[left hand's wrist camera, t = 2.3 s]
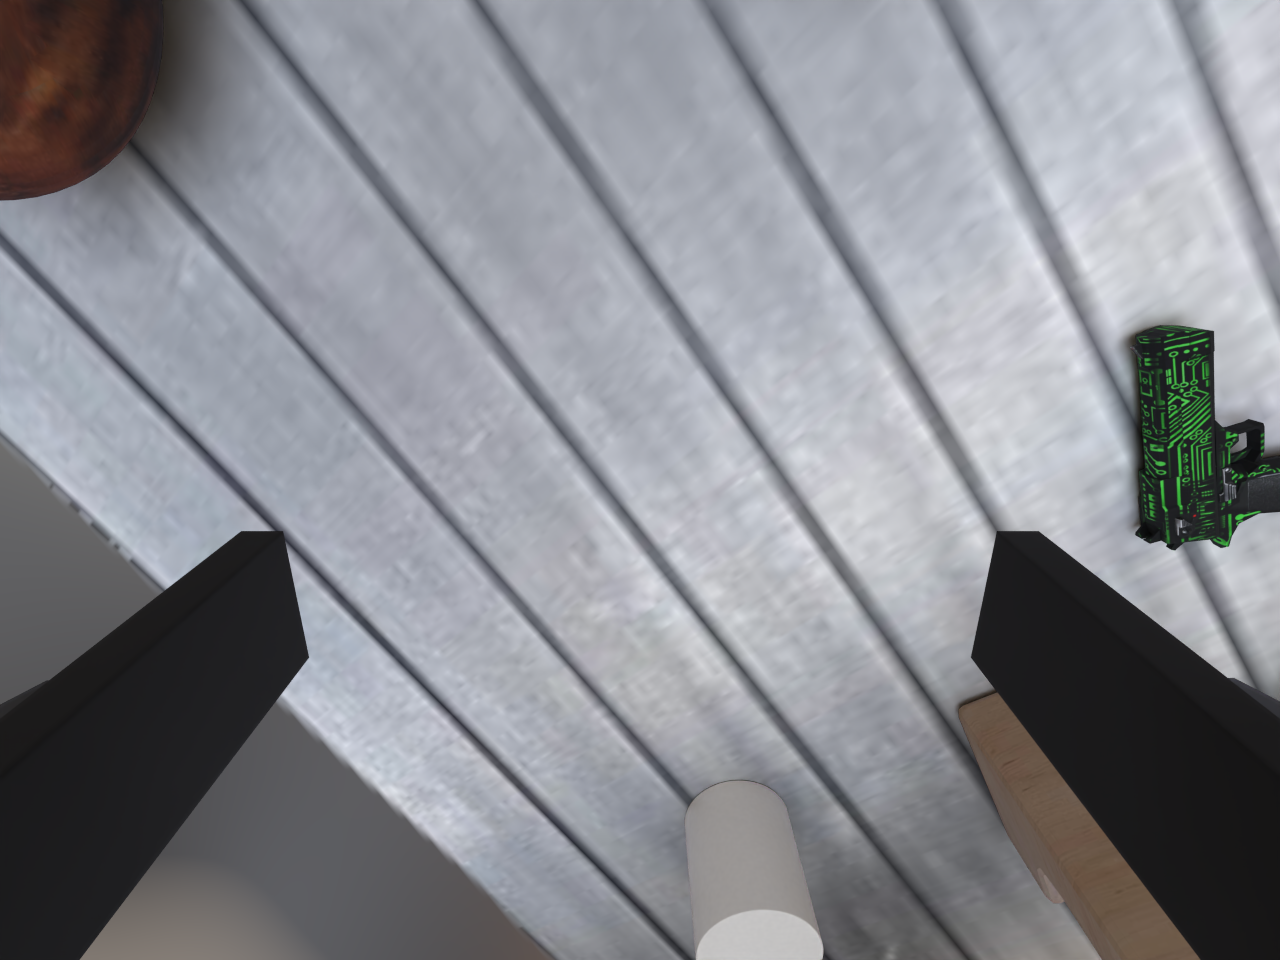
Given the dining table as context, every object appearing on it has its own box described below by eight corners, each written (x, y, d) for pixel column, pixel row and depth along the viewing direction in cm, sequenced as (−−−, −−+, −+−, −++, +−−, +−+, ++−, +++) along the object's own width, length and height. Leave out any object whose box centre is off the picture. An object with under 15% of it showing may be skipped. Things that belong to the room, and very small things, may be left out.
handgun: (1366, 530, 46) (1143, 575, 46) (1322, 514, 48) (1112, 556, 49) (1402, 285, 41) (1150, 339, 41) (1351, 283, 43) (1116, 333, 44)
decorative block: (1006, 834, 58) (1356, 1401, 30) (952, 705, 54) (1306, 1230, 25) (1093, 803, 57) (1542, 1361, 29) (1045, 668, 52) (1524, 1175, 24)
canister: (692, 865, 59) (705, 1006, 49) (677, 788, 56) (687, 919, 46) (792, 852, 59) (828, 991, 48) (782, 773, 56) (818, 902, 45)
